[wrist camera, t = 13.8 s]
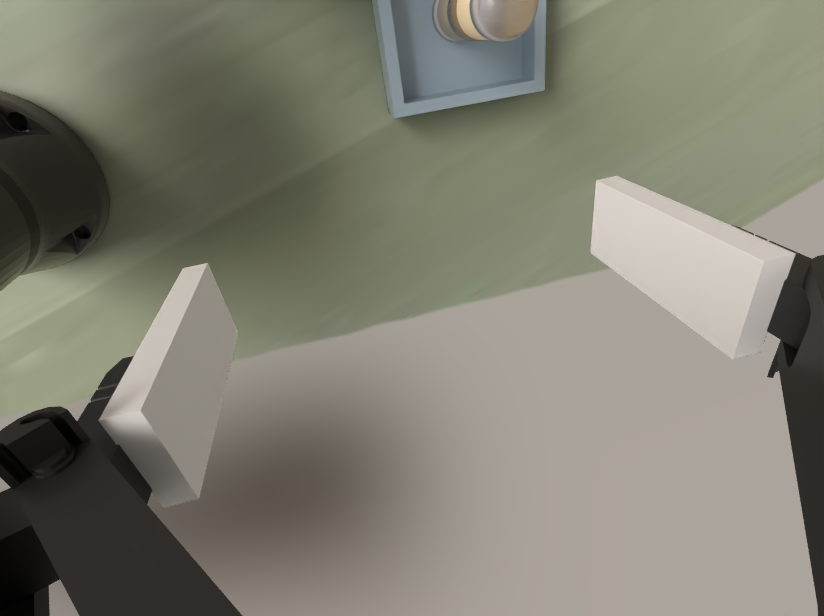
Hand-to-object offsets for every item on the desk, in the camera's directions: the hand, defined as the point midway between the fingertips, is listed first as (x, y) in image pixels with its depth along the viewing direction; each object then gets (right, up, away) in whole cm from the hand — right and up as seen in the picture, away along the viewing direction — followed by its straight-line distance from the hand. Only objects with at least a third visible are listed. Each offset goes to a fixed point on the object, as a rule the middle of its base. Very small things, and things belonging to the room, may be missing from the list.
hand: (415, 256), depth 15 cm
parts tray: (+4, +24, +24) cm, 34 cm away
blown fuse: (+4, +24, +23) cm, 33 cm away
